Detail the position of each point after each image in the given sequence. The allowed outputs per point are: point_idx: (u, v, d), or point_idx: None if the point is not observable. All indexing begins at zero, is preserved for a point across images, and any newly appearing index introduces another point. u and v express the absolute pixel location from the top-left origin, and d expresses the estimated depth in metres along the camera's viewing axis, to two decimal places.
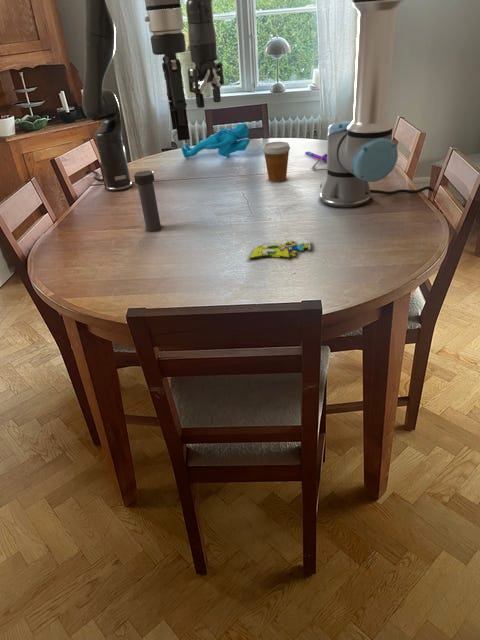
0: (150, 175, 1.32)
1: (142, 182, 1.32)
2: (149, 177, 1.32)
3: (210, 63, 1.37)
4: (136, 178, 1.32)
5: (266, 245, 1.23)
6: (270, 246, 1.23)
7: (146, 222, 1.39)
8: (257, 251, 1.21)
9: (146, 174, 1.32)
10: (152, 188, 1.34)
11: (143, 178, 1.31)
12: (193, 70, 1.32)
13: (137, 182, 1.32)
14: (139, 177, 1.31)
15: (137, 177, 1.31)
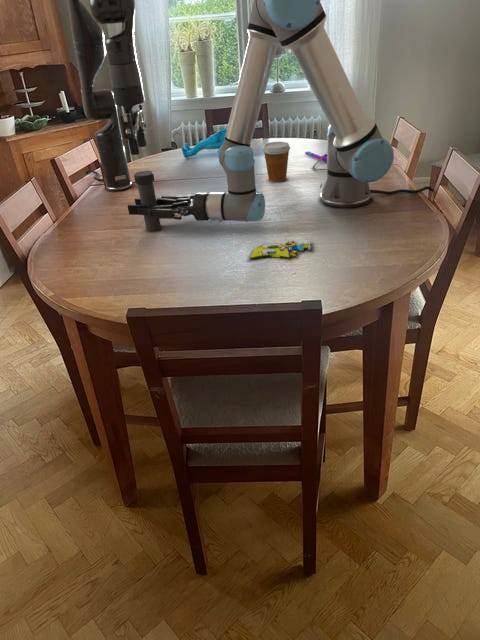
0: (150, 175, 1.32)
1: (142, 182, 1.32)
2: (149, 177, 1.32)
3: (136, 105, 1.24)
4: (136, 178, 1.32)
5: (266, 245, 1.23)
6: (270, 246, 1.23)
7: (146, 222, 1.39)
8: (257, 251, 1.21)
9: (146, 174, 1.32)
10: (152, 188, 1.34)
11: (143, 178, 1.31)
12: (127, 115, 1.18)
13: (137, 182, 1.32)
14: (139, 177, 1.31)
15: (137, 177, 1.31)
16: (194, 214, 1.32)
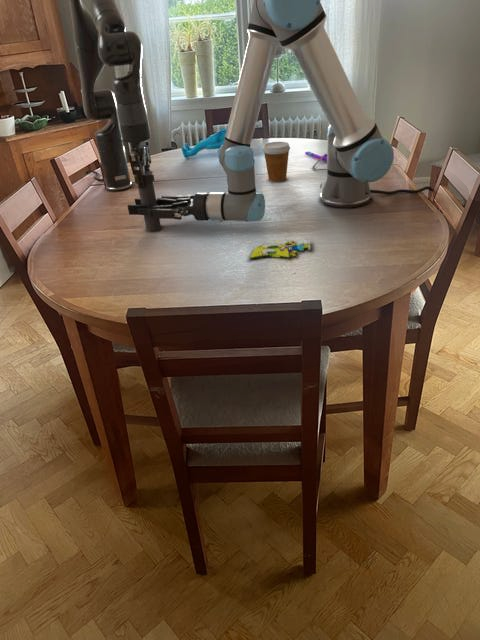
0: (150, 175, 1.32)
1: None
2: (149, 177, 1.32)
3: (142, 140, 1.29)
4: (136, 178, 1.32)
5: (266, 245, 1.23)
6: (270, 246, 1.23)
7: (146, 222, 1.39)
8: (257, 251, 1.21)
9: (146, 174, 1.32)
10: (152, 188, 1.34)
11: None
12: (135, 155, 1.24)
13: (137, 182, 1.32)
14: None
15: None
16: (194, 214, 1.32)
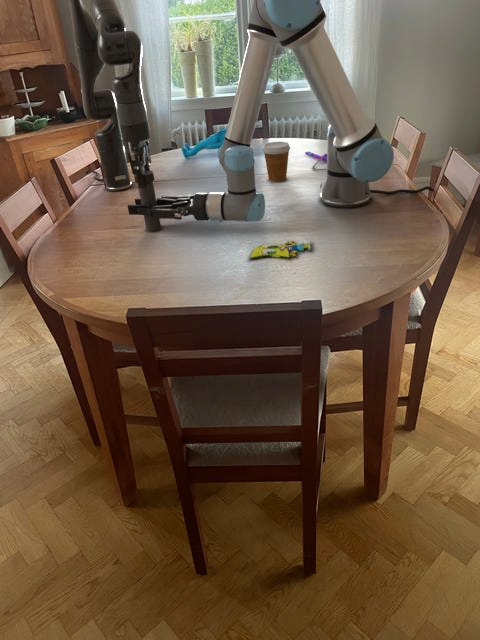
0: None
1: None
2: None
3: None
4: (150, 176, 1.32)
5: (266, 245, 1.23)
6: (270, 246, 1.23)
7: (146, 222, 1.39)
8: (257, 251, 1.21)
9: (148, 171, 1.34)
10: (152, 188, 1.34)
11: None
12: (135, 155, 1.24)
13: (152, 180, 1.33)
14: (152, 173, 1.33)
15: (151, 174, 1.32)
16: (194, 214, 1.32)
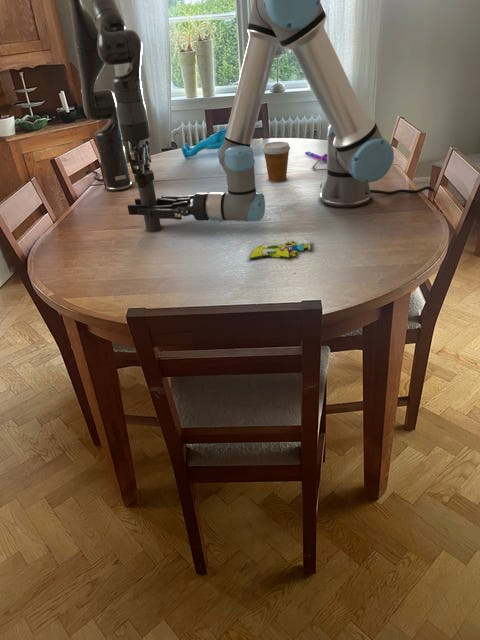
0: None
1: None
2: None
3: (142, 139, 1.29)
4: None
5: (266, 245, 1.23)
6: (270, 246, 1.23)
7: (146, 222, 1.39)
8: (257, 251, 1.21)
9: None
10: (152, 188, 1.34)
11: None
12: (134, 154, 1.23)
13: None
14: None
15: None
16: (194, 214, 1.32)
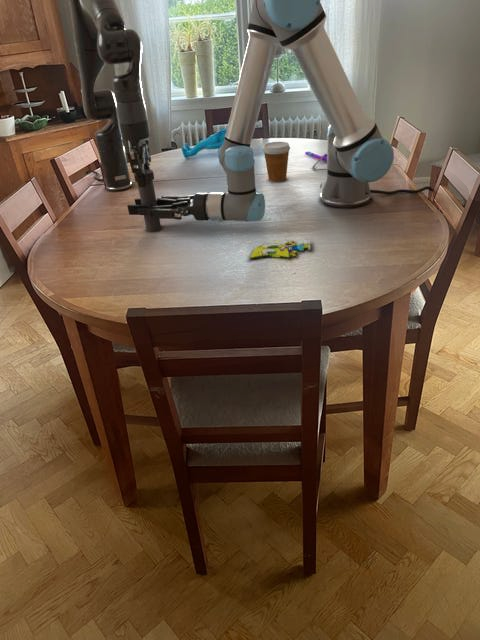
0: None
1: (135, 179, 1.32)
2: None
3: (142, 139, 1.29)
4: None
5: (266, 245, 1.23)
6: (270, 246, 1.23)
7: (146, 222, 1.39)
8: (257, 251, 1.21)
9: None
10: (152, 188, 1.34)
11: (135, 176, 1.32)
12: (134, 154, 1.23)
13: None
14: (134, 174, 1.32)
15: None
16: (194, 214, 1.32)
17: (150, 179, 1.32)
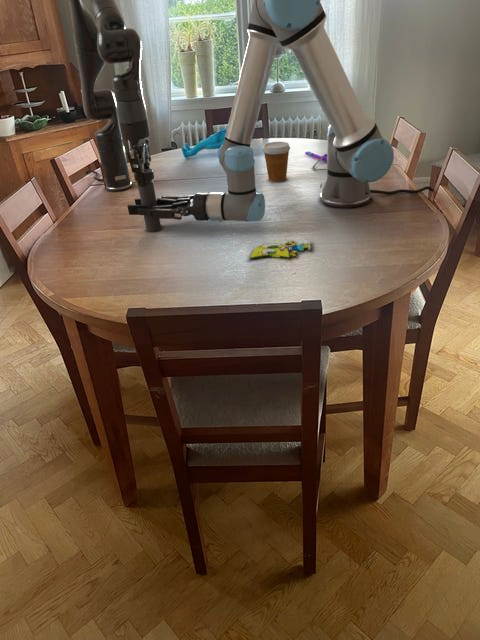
0: (152, 171, 1.33)
1: (149, 179, 1.32)
2: (152, 173, 1.33)
3: (142, 138, 1.29)
4: None
5: (266, 245, 1.23)
6: (270, 246, 1.23)
7: (146, 222, 1.39)
8: (257, 251, 1.21)
9: (149, 170, 1.32)
10: (152, 188, 1.34)
11: (149, 174, 1.31)
12: (134, 153, 1.23)
13: None
14: (146, 174, 1.31)
15: None
16: (194, 214, 1.32)
17: None
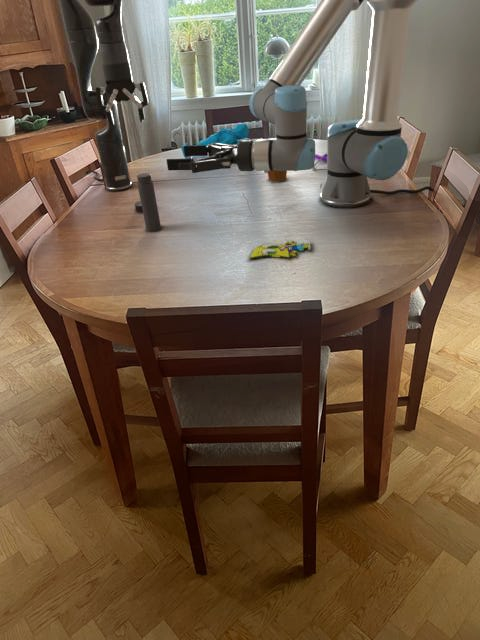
0: None
1: None
2: None
3: None
4: None
5: (266, 245, 1.23)
6: (270, 246, 1.23)
7: (146, 222, 1.39)
8: (257, 251, 1.21)
9: None
10: (152, 188, 1.34)
11: None
12: None
13: None
14: None
15: None
16: (238, 163, 1.22)
17: None
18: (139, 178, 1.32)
